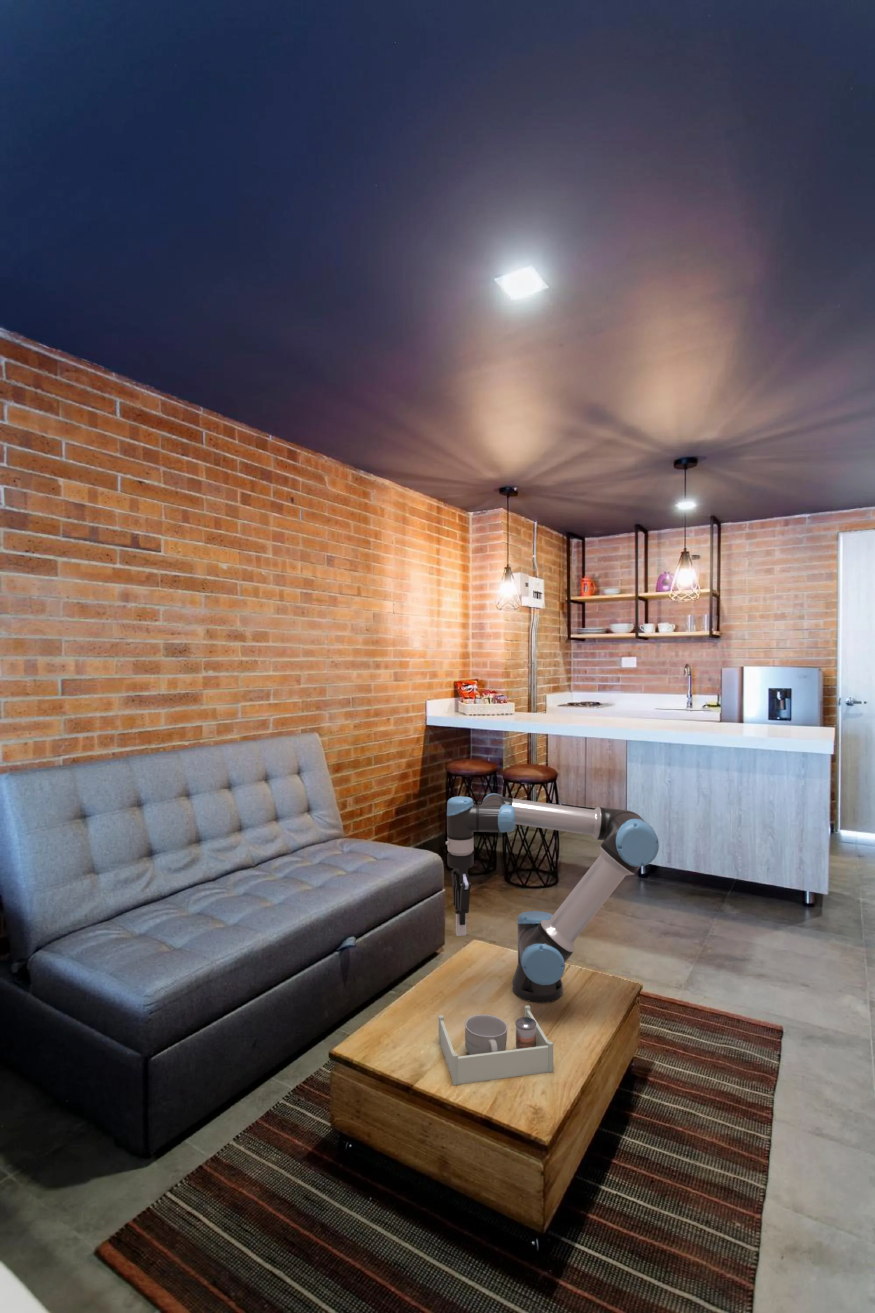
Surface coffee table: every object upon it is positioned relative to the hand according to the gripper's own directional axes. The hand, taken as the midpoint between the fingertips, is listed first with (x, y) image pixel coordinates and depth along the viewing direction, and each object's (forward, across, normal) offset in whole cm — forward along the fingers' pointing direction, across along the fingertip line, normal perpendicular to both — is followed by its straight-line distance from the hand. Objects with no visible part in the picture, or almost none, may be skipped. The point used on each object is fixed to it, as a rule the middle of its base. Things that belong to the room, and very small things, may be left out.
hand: (461, 934), depth 183 cm
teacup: (+22, +23, 0) cm, 32 cm away
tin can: (+22, +23, +10) cm, 34 cm away
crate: (+22, +22, +2) cm, 31 cm away
